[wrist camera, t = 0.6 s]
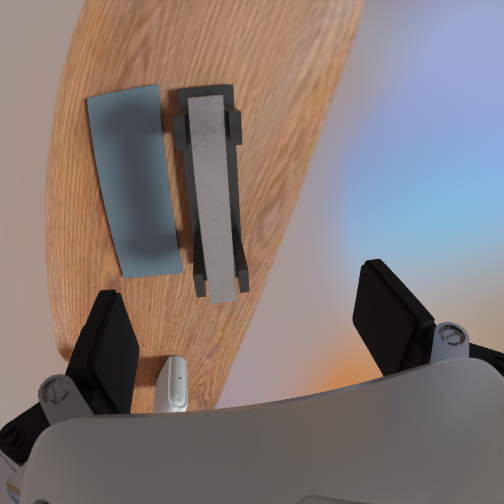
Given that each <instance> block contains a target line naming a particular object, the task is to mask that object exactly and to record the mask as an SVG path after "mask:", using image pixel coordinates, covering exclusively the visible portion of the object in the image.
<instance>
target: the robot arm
mask: <svg viewBox="0 0 504 504" xmlns="http://www.w3.org/2000/svg"><path fill="white" fill-rule="evenodd" d="M434 320H435V319H434V318H433V316H432V315H431V314H430V313H429V312H428V311H427V309H426V308H425V307H424V306H423V305H422V304H421V303H420V301H419V300H418V299H417V298H416V297H415V296H414V295H413V294H412V292H411V291H410V290H409V289H408V288H407V287H406V286H405V285H404V284H403V283H402V281H401V280H400V279H399V278H398V277H397V276H396V275H395V274H394V273H393V272H392V271H391V270H390V269H389V268H388V267H387V265H386V264H384V262H383V261H382V260H381V259H374V260H367V261H366V262H365V264H364V265H362V266H361V271H360V277H359V284H358V290H357V296H356V301H355V307H354V312H353V324H354V326H355V328H356V329H357V331H358V333H359V334H360V336H361V338H362V340H363V341H364V343H365V345H366V346H367V348H368V350H369V352H370V353H371V355H372V357H373V359H374V360H375V362H376V364H377V366H378V367H379V369H380V371H381V373H382V374H383V376H384V377H381V378H377V379H374V380H370V381H366V382H363V383H359V384H355V385H351V386H347V387H343V388H339V389H335V390H330V391H326V392H321V393H317V394H312V395H307V396H302V397H296V398H291V399H285V400H280V401H274V402H268V403H261V404H254V405H247V406H239V407H230V408H221V409H211V410H200V411H186V412H168V413H143V414H130V411H131V403H132V396H133V389H134V382H135V376H136V369H137V363H138V357H139V345H138V342H137V339H136V336H135V334H134V331H133V328H132V325H131V323H130V320H129V317H128V314H127V311H126V308H125V305H124V302H123V299H122V296H121V294H120V293H116V291H115V290H114V289H111V290H101V291H100V292H99V293H98V296H97V298H96V300H95V303H94V305H93V307H92V310H91V312H90V314H89V317H88V319H87V322H86V324H85V326H83V328H82V330H81V333H80V335H79V338H78V340H77V343H76V345H75V348H74V351H73V353H72V356H71V359H70V362H69V364H68V367H67V370H66V373H65V375H62V374H58V375H53V376H51V377H49V378H48V379H46V380H45V381H44V382H43V383H42V384H41V386H40V388H39V390H38V398H39V403H37V404H35V405H34V406H33V407H31V408H30V409H28V410H27V411H25V412H24V413H22V414H21V415H19V416H18V417H17V418H15V419H14V420H12V421H10V422H9V423H7V424H6V425H5V426H4V427H3V428H2V429H1V431H0V504H504V354H503V353H501V352H498V351H494V350H491V349H488V348H485V347H482V346H478V345H475V344H472V343H469V336H468V334H467V332H466V331H465V329H464V328H462V327H461V326H459V325H457V324H455V323H452V322H443V323H440V324H439V325H437V326H436V324H435V323H434Z"/></svg>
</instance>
